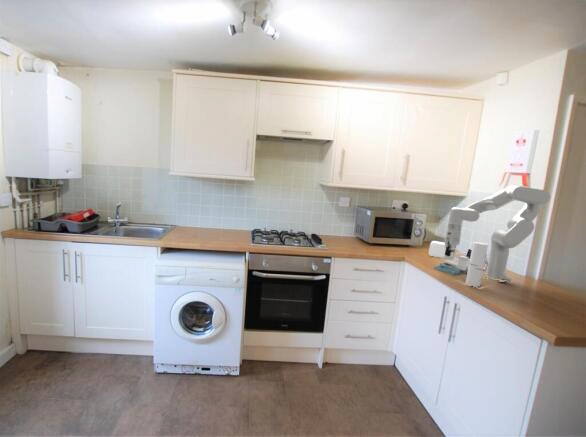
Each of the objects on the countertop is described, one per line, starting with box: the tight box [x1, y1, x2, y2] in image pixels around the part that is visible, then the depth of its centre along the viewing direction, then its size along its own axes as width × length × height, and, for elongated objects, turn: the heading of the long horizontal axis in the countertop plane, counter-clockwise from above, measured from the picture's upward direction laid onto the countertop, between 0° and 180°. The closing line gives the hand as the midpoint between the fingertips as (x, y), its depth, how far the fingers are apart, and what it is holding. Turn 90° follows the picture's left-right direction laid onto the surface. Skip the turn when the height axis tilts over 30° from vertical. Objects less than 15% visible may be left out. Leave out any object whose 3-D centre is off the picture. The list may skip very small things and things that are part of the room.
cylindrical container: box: [465, 241, 489, 287], centre depth 170 cm, size 7×7×25 cm
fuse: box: [457, 255, 470, 270], centre depth 194 cm, size 4×4×10 cm
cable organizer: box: [428, 240, 446, 259], centre depth 232 cm, size 15×11×12 cm
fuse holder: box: [439, 262, 468, 275], centre depth 198 cm, size 16×8×3 cm, turn 34°
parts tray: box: [434, 264, 461, 276], centre depth 193 cm, size 12×9×3 cm
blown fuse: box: [443, 244, 457, 261], centre depth 191 cm, size 4×4×10 cm
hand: (449, 255), depth 192 cm, fingers closed on blown fuse, 3 cm apart
